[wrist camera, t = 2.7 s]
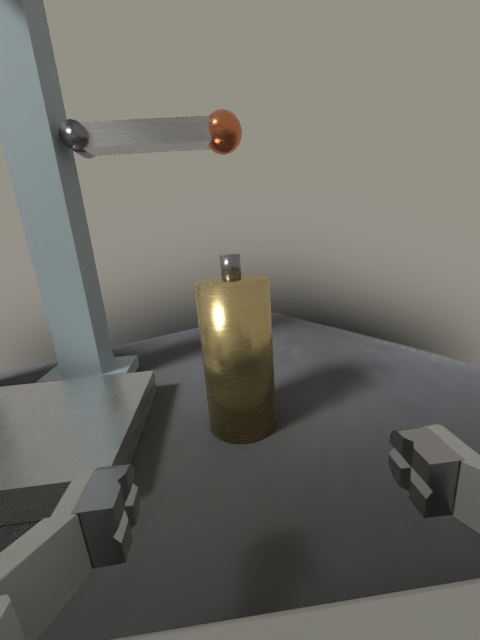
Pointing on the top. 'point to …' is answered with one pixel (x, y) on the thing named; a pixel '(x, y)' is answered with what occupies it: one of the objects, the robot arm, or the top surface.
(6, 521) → the press bed
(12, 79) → the frame
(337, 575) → the top surface
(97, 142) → the lever
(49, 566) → the robot arm
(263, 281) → the cylinder
